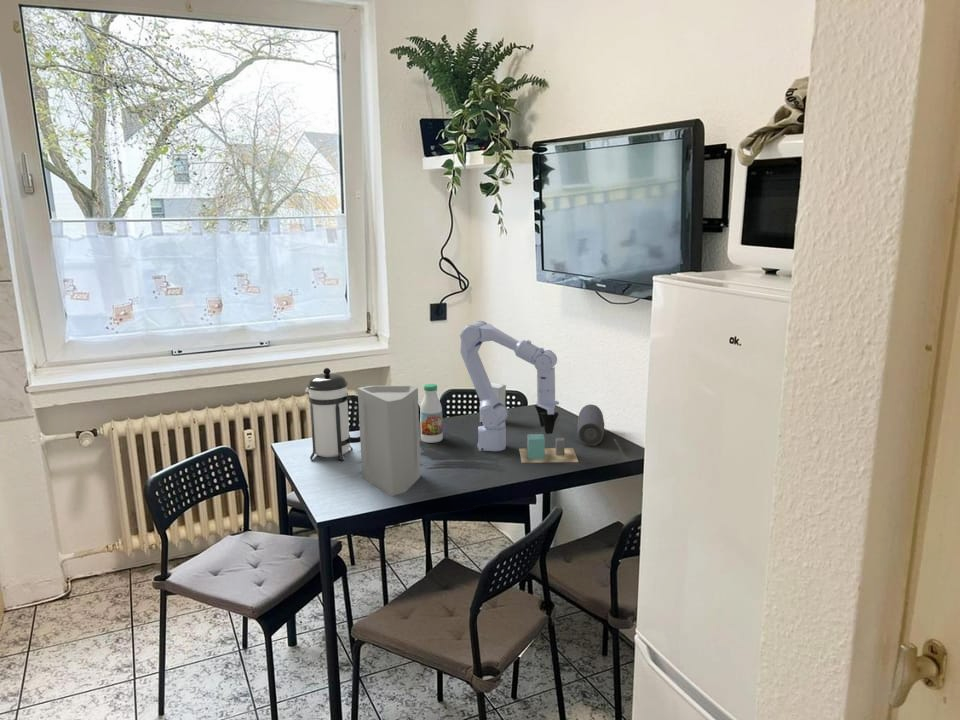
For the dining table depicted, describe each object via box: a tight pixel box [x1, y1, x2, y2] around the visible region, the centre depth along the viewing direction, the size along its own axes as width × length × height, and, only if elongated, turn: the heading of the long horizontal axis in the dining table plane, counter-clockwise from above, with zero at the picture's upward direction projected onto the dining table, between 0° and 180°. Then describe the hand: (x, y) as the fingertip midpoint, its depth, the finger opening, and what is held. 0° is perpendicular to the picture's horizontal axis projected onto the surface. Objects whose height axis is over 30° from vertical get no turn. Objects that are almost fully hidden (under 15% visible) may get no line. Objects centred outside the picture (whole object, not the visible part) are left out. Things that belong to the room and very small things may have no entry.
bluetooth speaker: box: [576, 404, 605, 447], centre depth 247 cm, size 23×9×10 cm, turn 171°
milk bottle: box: [419, 383, 444, 444], centre depth 246 cm, size 8×8×20 cm
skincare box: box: [479, 382, 507, 423], centre depth 267 cm, size 8×6×15 cm
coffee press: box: [304, 367, 360, 463], centre depth 231 cm, size 17×16×30 cm
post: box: [555, 437, 566, 455], centre depth 228 cm, size 3×3×5 cm
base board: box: [518, 447, 579, 464], centre depth 228 cm, size 18×13×2 cm
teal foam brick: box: [526, 433, 546, 459], centre depth 226 cm, size 5×5×7 cm
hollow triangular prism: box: [357, 385, 422, 497], centre depth 209 cm, size 19×15×28 cm
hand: (546, 429), depth 227 cm, fingers open, 7 cm apart
